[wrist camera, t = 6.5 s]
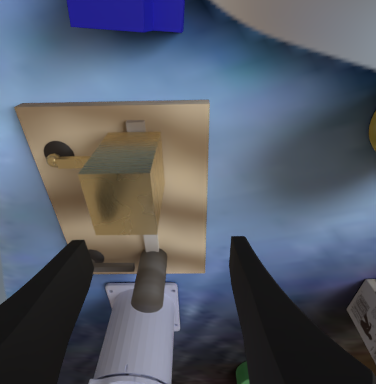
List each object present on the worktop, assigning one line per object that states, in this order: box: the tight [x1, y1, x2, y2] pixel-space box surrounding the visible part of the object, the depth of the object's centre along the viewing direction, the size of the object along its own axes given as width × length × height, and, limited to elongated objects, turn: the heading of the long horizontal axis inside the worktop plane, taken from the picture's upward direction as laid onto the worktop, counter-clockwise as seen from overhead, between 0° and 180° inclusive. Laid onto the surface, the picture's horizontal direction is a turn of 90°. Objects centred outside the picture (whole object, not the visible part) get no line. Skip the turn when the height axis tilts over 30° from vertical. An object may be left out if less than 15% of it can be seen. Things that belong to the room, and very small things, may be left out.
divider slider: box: [46, 132, 165, 235], centre depth 16 cm, size 4×8×6 cm, turn 91°
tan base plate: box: [14, 100, 210, 313], centre depth 20 cm, size 17×13×6 cm
